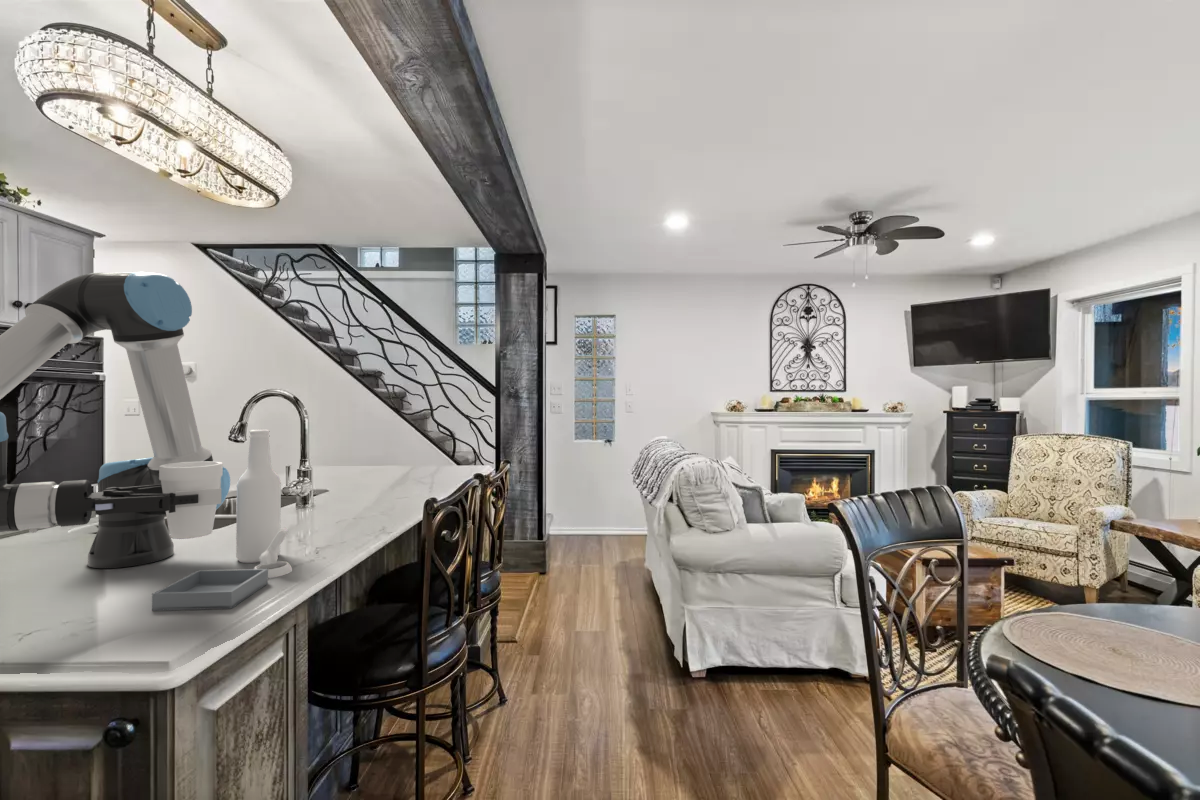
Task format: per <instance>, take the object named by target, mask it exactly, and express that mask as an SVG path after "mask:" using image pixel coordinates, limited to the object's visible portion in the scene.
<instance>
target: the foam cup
mask: <svg viewBox="0 0 1200 800" xmlns="http://www.w3.org/2000/svg"><path fill="white" fill-rule="evenodd" d="M223 467H224V463H223V462H222V461H213V462H212V461H202V462H181V463H172V464H165V465H161V466H159V480H161V485H162V491H163V493H175V494H176V492H179V491H192V490H206V489H219V487H220V480H221V476H222V475H223ZM216 506H217V504H214V505H202V506H190V507H179V508H176V512H173V513H169V510H168V511H166V515H165V517H166V521H167V522H166V523H167V529H168V532H169V534H170V538H171V539H173V540H174V539H175V540H184V539H185V540H186V539H187V540H188V539H195V538H196V539H197V538H202V537H206V536H209V535H212V533H213V529H214V525H215V517H216V511H217V510H216Z"/></svg>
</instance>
